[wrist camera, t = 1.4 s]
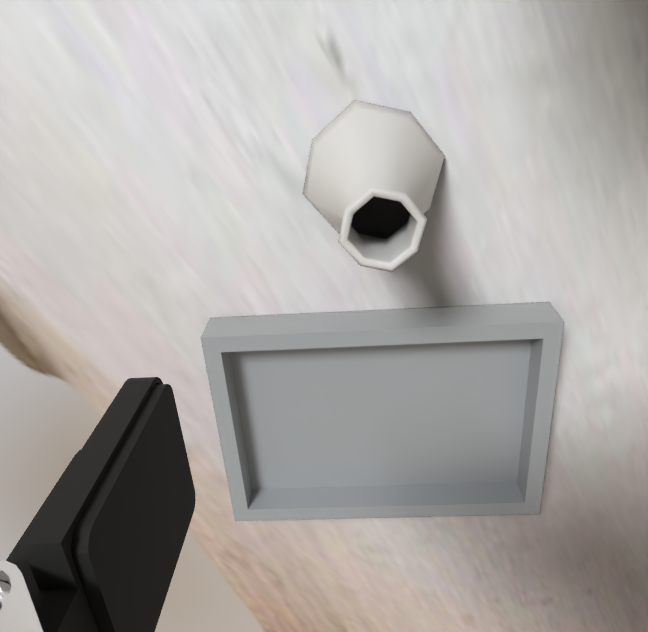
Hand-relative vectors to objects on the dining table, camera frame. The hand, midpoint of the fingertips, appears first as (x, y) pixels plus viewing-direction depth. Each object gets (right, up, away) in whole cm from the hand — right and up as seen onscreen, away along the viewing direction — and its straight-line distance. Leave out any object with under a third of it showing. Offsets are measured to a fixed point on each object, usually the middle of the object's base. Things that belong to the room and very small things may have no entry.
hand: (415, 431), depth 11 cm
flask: (+1, +10, +20) cm, 22 cm away
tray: (+2, -4, +26) cm, 26 cm away
